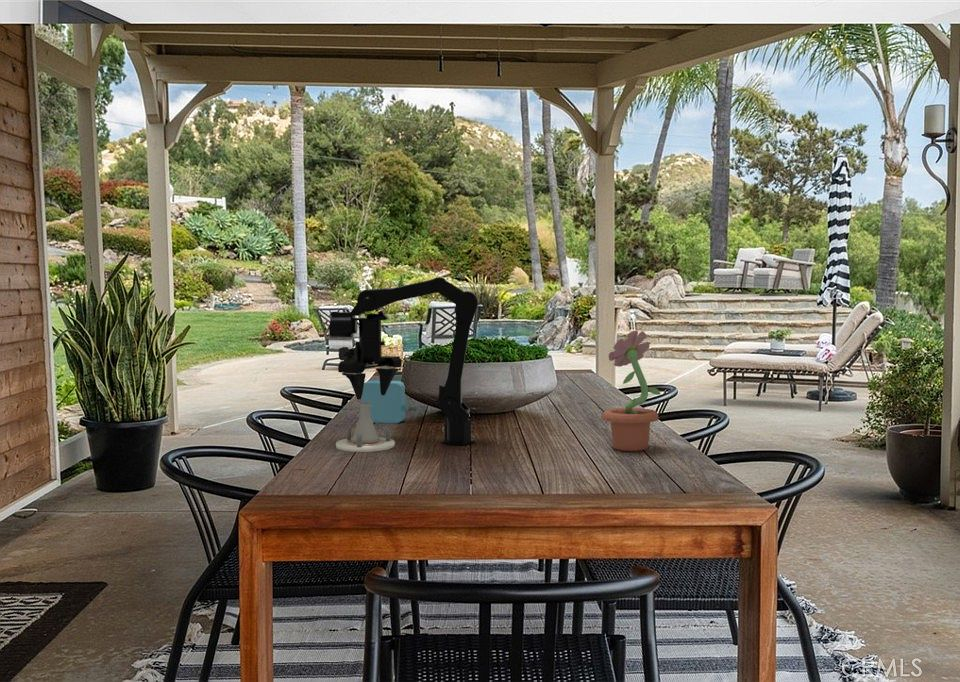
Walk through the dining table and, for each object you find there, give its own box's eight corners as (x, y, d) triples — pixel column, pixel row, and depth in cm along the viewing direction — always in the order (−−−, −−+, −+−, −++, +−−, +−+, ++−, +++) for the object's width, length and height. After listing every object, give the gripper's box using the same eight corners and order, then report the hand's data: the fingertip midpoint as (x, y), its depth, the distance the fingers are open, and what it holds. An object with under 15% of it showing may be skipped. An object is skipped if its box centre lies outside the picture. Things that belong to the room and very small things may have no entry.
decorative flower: (639, 441, 239) (640, 327, 236) (673, 450, 227) (674, 330, 224) (591, 446, 232) (592, 329, 230) (624, 456, 220) (625, 332, 217)
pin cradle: (407, 445, 235) (406, 429, 234) (365, 454, 223) (365, 438, 222) (365, 438, 244) (365, 423, 243) (323, 447, 232) (323, 431, 232)
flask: (377, 444, 229) (376, 405, 229) (348, 444, 230) (348, 405, 229) (382, 439, 237) (381, 401, 236) (354, 439, 237) (353, 400, 236)
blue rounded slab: (405, 421, 271) (405, 381, 270) (401, 423, 267) (400, 383, 266) (367, 419, 274) (366, 380, 273) (362, 422, 269) (361, 382, 268)
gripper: (371, 334, 248) (372, 391, 250) (322, 338, 233) (323, 399, 235) (402, 335, 242) (403, 394, 243) (353, 340, 227) (355, 402, 228)
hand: (371, 397), depth 237 cm, fingers open, 9 cm apart
